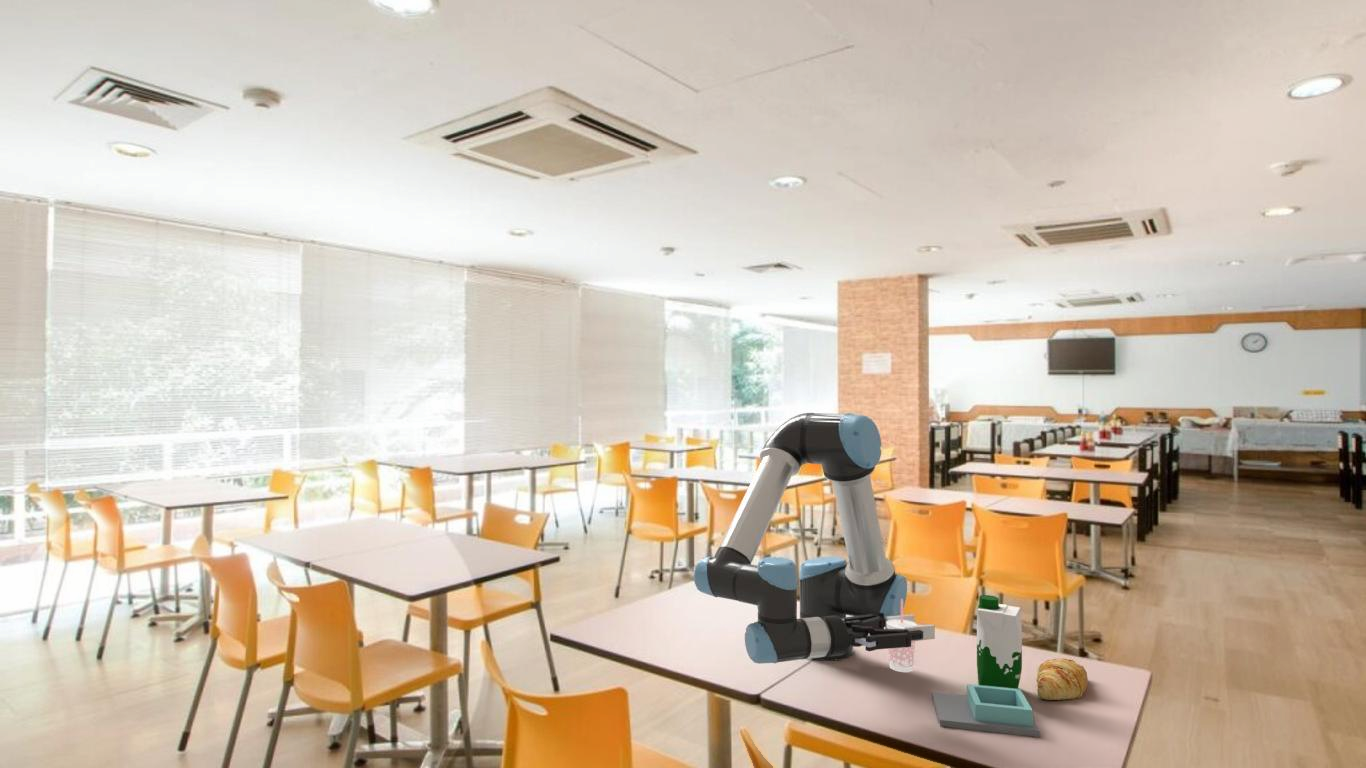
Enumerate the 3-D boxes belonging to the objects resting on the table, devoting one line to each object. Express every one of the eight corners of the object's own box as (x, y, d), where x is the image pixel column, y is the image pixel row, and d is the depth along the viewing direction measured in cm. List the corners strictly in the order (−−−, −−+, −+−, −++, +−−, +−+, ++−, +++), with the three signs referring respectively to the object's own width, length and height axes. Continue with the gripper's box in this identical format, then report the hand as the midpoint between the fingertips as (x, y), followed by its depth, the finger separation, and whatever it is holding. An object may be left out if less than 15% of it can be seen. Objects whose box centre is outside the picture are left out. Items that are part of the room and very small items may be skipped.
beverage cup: (913, 676, 141) (914, 605, 142) (882, 669, 144) (883, 600, 145) (919, 665, 147) (920, 597, 147) (889, 660, 150) (890, 593, 150)
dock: (939, 726, 140) (940, 704, 140) (931, 697, 154) (931, 677, 154) (1039, 737, 136) (1039, 714, 136) (1022, 706, 149) (1022, 686, 150)
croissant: (1055, 723, 149) (1074, 695, 147) (1012, 688, 156) (1029, 660, 153) (1092, 694, 163) (1110, 668, 161) (1051, 663, 170) (1068, 637, 167)
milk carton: (980, 678, 164) (980, 591, 164) (1024, 687, 159) (1024, 597, 160) (973, 691, 157) (974, 600, 157) (1018, 701, 152) (1019, 607, 152)
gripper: (800, 639, 150) (896, 629, 156) (847, 674, 131) (953, 661, 138) (800, 603, 150) (896, 595, 156) (847, 633, 131) (953, 622, 138)
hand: (923, 626), depth 147 cm, fingers closed on beverage cup, 6 cm apart
